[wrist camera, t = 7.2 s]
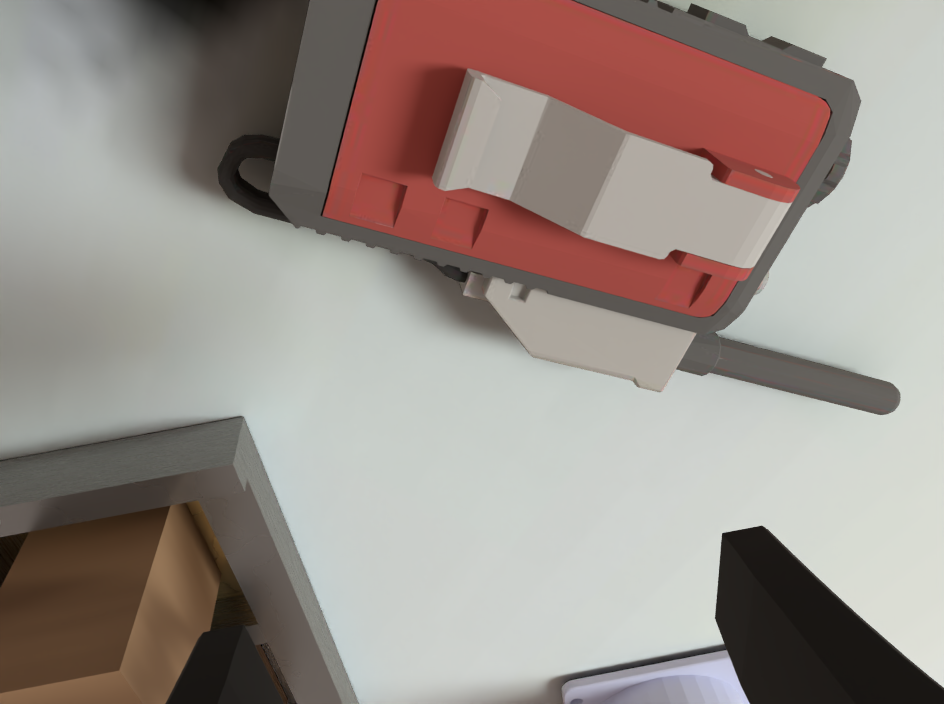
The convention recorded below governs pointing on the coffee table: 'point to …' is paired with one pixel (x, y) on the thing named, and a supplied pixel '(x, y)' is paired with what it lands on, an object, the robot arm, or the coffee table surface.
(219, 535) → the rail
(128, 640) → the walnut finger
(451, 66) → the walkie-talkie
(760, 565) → the robot arm
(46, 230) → the coffee table surface
